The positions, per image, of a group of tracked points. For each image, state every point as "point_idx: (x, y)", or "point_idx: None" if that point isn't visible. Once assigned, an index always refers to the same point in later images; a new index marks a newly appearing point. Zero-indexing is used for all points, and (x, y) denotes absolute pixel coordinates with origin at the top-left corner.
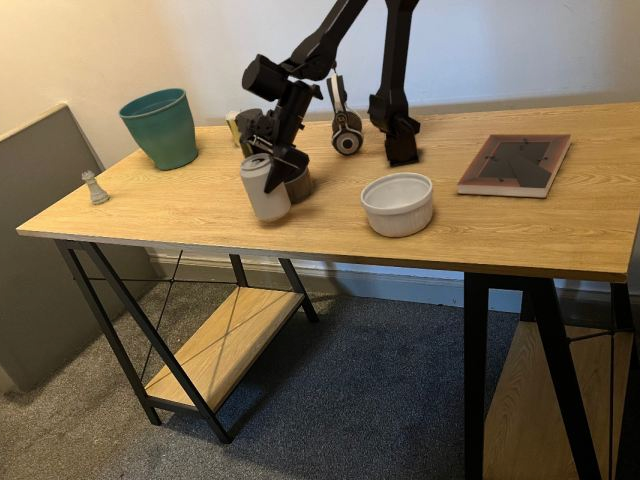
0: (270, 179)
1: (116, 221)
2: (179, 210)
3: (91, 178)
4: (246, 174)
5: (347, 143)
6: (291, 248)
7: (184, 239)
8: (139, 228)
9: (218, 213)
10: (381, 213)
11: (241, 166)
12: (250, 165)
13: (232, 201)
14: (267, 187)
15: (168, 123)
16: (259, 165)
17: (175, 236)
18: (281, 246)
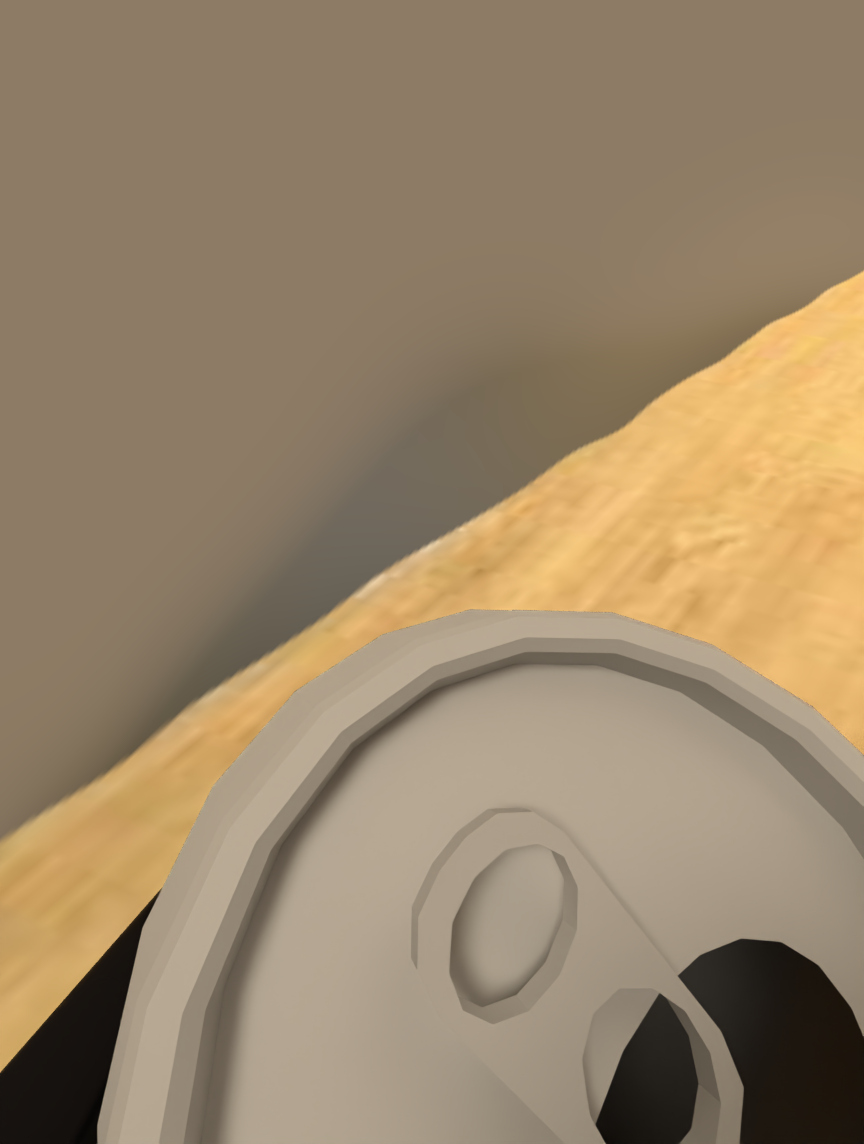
0: (22, 1064)
1: (859, 352)
2: (848, 502)
3: None
4: (377, 663)
5: None
6: (62, 817)
7: (592, 458)
8: (772, 382)
9: (735, 615)
10: None
11: (574, 623)
12: (576, 834)
13: (831, 708)
14: None
15: None
16: (153, 1091)
17: (638, 443)
18: (146, 772)
